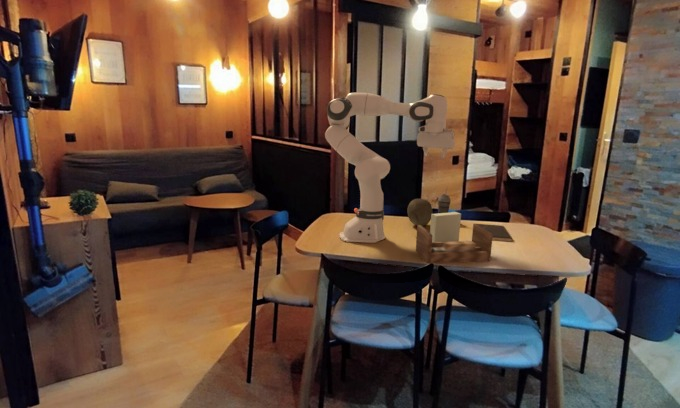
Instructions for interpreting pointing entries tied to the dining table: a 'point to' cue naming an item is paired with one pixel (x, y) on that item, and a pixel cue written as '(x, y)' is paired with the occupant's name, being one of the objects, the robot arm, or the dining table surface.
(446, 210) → the beverage cup
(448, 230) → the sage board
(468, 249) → the offcut stack
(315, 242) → the dining table surface
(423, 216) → the cantaloupe
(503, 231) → the hardcover book
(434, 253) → the walnut rack
